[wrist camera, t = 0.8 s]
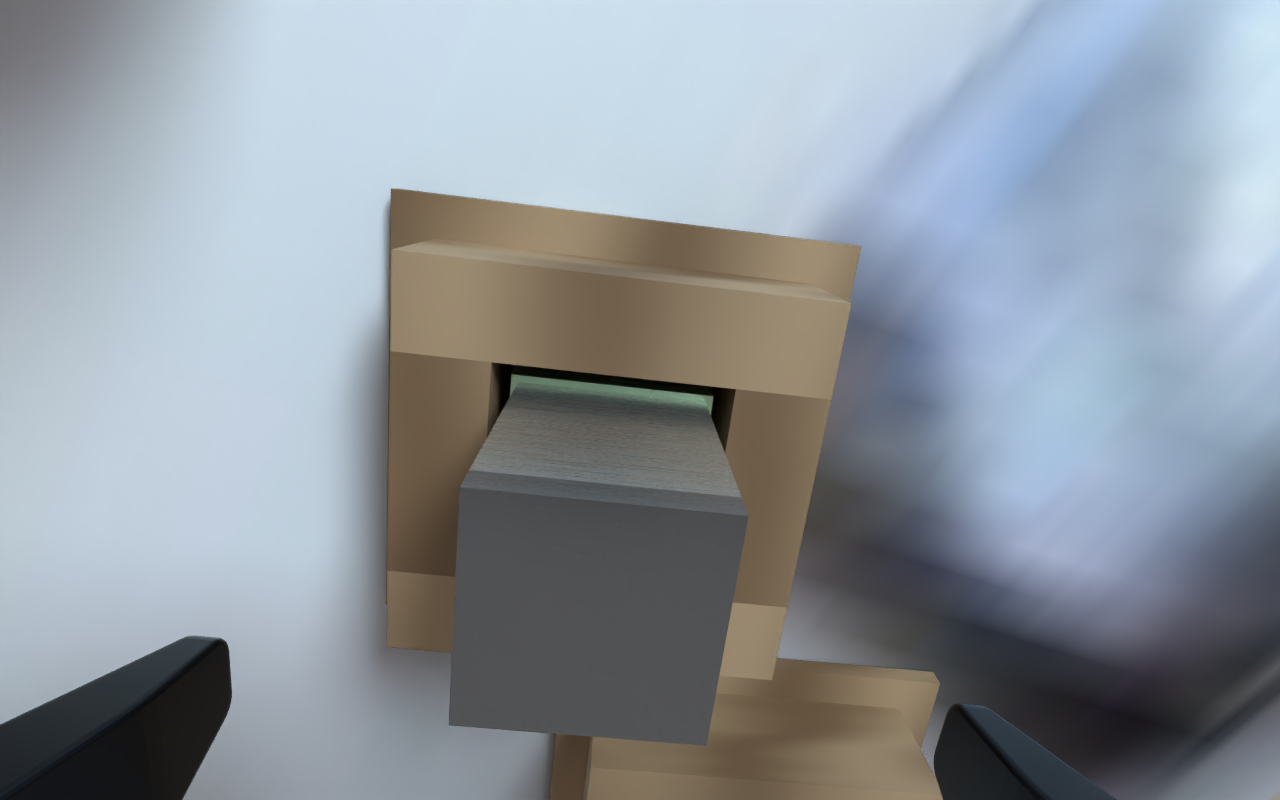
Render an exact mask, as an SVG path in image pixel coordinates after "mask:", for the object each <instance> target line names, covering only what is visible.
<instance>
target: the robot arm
mask: <svg viewBox="0 0 1280 800" xmlns="http://www.w3.org/2000/svg"><path fill="white" fill-rule="evenodd" d="M231 698H232V687H231V672H230V658H229V648H228V645H227V643H226V641H225V640H223V639H221V638H215V637H204V636H188V637H185V638H182V639H180V640H178V641H176V642H174V643H172V644H170V645H168V646H165V647H163V648H161V649H159V650H157V651H155V652H153V653H151V654H149V655H146V656H144V657H142V658H140V659H138V660H136V661H134V662H132V663H130V664H127V665H125V666H123V667H121V668H119V669H117V670H115V671H113V672H110V673H108V674H106V675H104V676H102V677H100V678H98V679H96V680H94V681H91V682H89V683H87V684H85V685H83V686H81V687H79V688H77V689H75V690H72V691H70V692H68V693H66V694H64V695H62V696H60V697H58V698H56V699H53V700H51V701H49V702H47V703H45V704H43V705H41V706H39V707H37V708H34V709H32V710H30V711H28V712H26V713H24V714H22V715H20V716H17V717H15V718H13V719H11V720H9V721H7V722H5V723H3V724H1V725H0V800H183V798H184V796H185V794H186V792H187V790H188V788H189V786H190V784H191V783H192V781H193V779H194V777H195V775H196V773H197V771H198V769H199V767H200V765H201V763H202V762H203V760H204V758H205V756H206V754H207V752H208V750H209V748H210V746H211V744H212V743H213V741H214V739H215V737H216V735H217V733H218V731H219V729H220V727H221V725H222V723H223V722H224V720H225V718H226V716H227V713H228V711H229V708H230V704H231ZM934 770H935V775H936V779H937V782H938V785H939V788H940V792H941V795H942V798H943V800H1116V799H1115V798H1113V797H1112V796H1111V795H1109V794H1108V793H1106V792H1105V791H1104V790H1102V789H1101V788H1100V787H1098V786H1097V785H1095V784H1094V783H1093V782H1091V781H1090V780H1088V779H1087V778H1086V777H1084V776H1083V775H1081V774H1080V773H1079V772H1077V771H1076V770H1074V769H1073V768H1072V767H1070V766H1069V765H1067V764H1066V763H1065V762H1063V761H1062V760H1060V759H1059V758H1058V757H1056V756H1055V755H1053V754H1052V753H1051V752H1049V751H1048V750H1046V749H1045V748H1044V747H1042V746H1041V745H1039V744H1038V743H1037V742H1035V741H1034V740H1032V739H1031V738H1030V737H1028V736H1027V735H1025V734H1024V733H1023V732H1021V731H1020V730H1018V729H1017V728H1016V727H1014V726H1013V725H1011V724H1010V723H1009V722H1007V721H1006V720H1005V719H1003V718H1002V717H1000V716H999V715H998V714H996V713H995V712H993V711H992V710H991V709H989V708H987V707H985V706H980V705H970V704H954V705H952V706H951V707H950V708H949V709H948V712H947V714H946V718H945V721H944V724H943V727H942V731H941V734H940V737H939V740H938V744H937V747H936V750H935V754H934Z"/></svg>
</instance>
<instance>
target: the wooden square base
mask: <svg viewBox="0 0 1280 800" xmlns="http://www.w3.org/2000/svg"><path fill="white" fill-rule="evenodd" d="M939 686H940V683H939V681H938V679H937V678H936V676H935V675H934V673H933V672H927V671H916V670H904V669H893V668H882V667H870V666H859V665H848V664H836V663H825V662H814V661H802V660H791V659H780V658H776V663H775V668H774V673H773V677H772V680H763V679H751V678H740V677H728V676H719V680H718V685H717V691H716V696H715V702H714V707H713V713H712V718H711V723H710V729H709V734H708V740H707V745H706V746H702V745H689V744H677V743H665V742H652V741H640V740H627V739H615V738H602V737H590V736H578V735H565V734H556V738H555V748H554V758H553V767H552V777H551V787H550V797H549V800H943V798H942V795H941V792H940V788H939V785H938V782H937V780H936V778H935V776H934V774H933V772H932V770H931V768H930V766H929V764H928V762H927V761H926V759H925V757H924V755H923V753H922V751H921V746H922V743H923V739H924V736H925V733H926V729H927V726H928V723H929V719H930V716H931V713H932V709H933V706H934V703H935V699H936V696H937V693H938V689H939Z"/></svg>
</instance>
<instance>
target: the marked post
mask: <svg viewBox="0 0 1280 800" xmlns="http://www.w3.org/2000/svg"><path fill="white" fill-rule="evenodd" d="M713 397H714V396H713V394H712V392H711V389H710V387H709V386H703V385H694V384H685V383H676V382H667V381H658V380H648V379H639V378H630V377H621V376H612V375H603V374H594V373H585V372H576V371H567V370H557V369H548V368H539V367H530V366H521V365H517V366H516V368H515V369H514V371H513V373H512V374H511V389H510V398H509V399H508V401H507V403H506V405H505V407H504V408H503V410H502V412H501V414H500V415H499V417H498V419H497V421H496V423H495V424H494V426H493V428H492V430H491V432H490V433H489V435H488V437H487V439H486V441H485V442H484V444H483V446H482V448H481V450H480V451H479V453H478V455H477V457H476V459H475V460H474V462H473V464H472V466H471V468H470V469H469V471H468V473H467V475H466V477H465V478H464V480H463V482H462V484H461V486H460V489H459V511H458V533H457V555H456V577H455V599H454V621H453V643H452V665H451V687H450V709H449V725H453V726H466V727H478V728H491V729H503V730H515V731H528V732H540V733H553V734H565V735H578V736H590V737H602V738H615V739H627V740H640V741H652V742H665V743H677V744H689V745H702V746H706V745H707V740H708V734H709V729H710V723H711V718H712V713H713V707H714V702H715V696H716V691H717V685H718V680H719V675H720V669H721V664H722V658H723V653H724V647H725V642H726V636H727V631H728V626H729V620H730V615H731V609H732V604H733V598H734V593H735V588H736V582H737V577H738V571H739V566H740V560H741V555H742V550H743V544H744V539H745V533H746V528H747V522H748V517H749V516H748V513H747V510H746V508H745V505H744V502H743V500H742V497H741V494H740V492H739V489H738V487H737V484H736V481H735V479H734V476H733V473H732V471H731V468H730V465H729V463H728V460H727V457H726V455H725V452H724V450H723V447H722V444H721V442H720V439H719V436H718V434H717V431H716V428H715V426H714V423H713V421H712V418H711V410H712V403H713Z"/></svg>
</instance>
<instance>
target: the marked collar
mask: <svg viewBox="0 0 1280 800" xmlns="http://www.w3.org/2000/svg"><path fill="white" fill-rule="evenodd" d="M860 250H861V246H857V245H851V244H843V243H835V242H827V241H818V240H810V239H802V238H794V237H786V236H778V235H770V234H762V233H753V232H745V231H737V230H729V229H721V228H713V227H705V226H697V225H688V224H680V223H672V222H664V221H656V220H648V219H640V218H632V217H623V216H615V215H607V214H599V213H591V212H583V211H575V210H566V209H558V208H550V207H542V206H534V205H526V204H518V203H510V202H501V201H493V200H485V199H477V198H469V197H461V196H453V195H445V194H436V193H428V192H420V191H412V190H404V189H391V229H390V315H389V401H388V487H387V573H386V604H387V647H392V648H404V649H415V650H427V651H438V652H450V653H452V643H453V621H454V599H455V577H456V555H457V533H458V511H459V489H460V486H461V484H462V482H463V480H464V478H465V477H466V475H467V473H468V471H469V469H470V468H471V466H472V464H473V462H474V460H475V459H476V457H477V455H478V453H479V451H480V450H481V448H482V446H483V444H484V442H485V441H486V439H487V437H488V435H489V433H490V432H491V430H492V428H493V426H494V424H495V423H496V421H497V419H498V417H499V415H500V414H501V412H502V410H503V408H504V407H505V405H506V403H507V401H508V399H509V398H510V389H511V374H512V373H513V371H514V369H515V368H516V366H517V365H521V366H530V367H539V368H548V369H557V370H567V371H576V372H585V373H594V374H603V375H612V376H621V377H630V378H639V379H648V380H658V381H667V382H676V383H685V384H694V385H703V386H709V387H710V389H711V392H712V394H713V396H714V397H713V403H712V410H711V418H712V421H713V423H714V426H715V428H716V431H717V434H718V436H719V439H720V442H721V444H722V447H723V450H724V452H725V455H726V457H727V460H728V463H729V465H730V468H731V471H732V473H733V476H734V479H735V481H736V484H737V487H738V489H739V492H740V494H741V497H742V500H743V502H744V505H745V508H746V510H747V513H748V516H749V517H748V522H747V528H746V533H745V539H744V544H743V550H742V555H741V560H740V566H739V571H738V577H737V582H736V588H735V593H734V598H733V604H732V609H731V615H730V620H729V626H728V631H727V636H726V642H725V647H724V653H723V658H722V664H721V669H720V675H719V676H728V677H740V678H751V679H763V680H772V677H773V673H774V668H775V663H776V658H777V654H778V649H779V644H780V640H781V635H782V630H783V625H784V621H785V616H786V611H787V606H788V602H789V597H790V592H791V588H792V583H793V578H794V573H795V569H796V564H797V559H798V555H799V550H800V545H801V540H802V536H803V531H804V526H805V521H806V517H807V512H808V507H809V503H810V498H811V493H812V488H813V484H814V479H815V474H816V469H817V465H818V460H819V455H820V451H821V446H822V441H823V436H824V432H825V427H826V422H827V417H828V413H829V408H830V403H831V399H832V394H833V389H834V384H835V380H836V375H837V370H838V365H839V361H840V356H841V351H842V347H843V342H844V337H845V332H846V328H847V323H848V318H849V313H850V309H851V303H849V302H850V298H851V293H852V288H853V283H854V279H855V274H856V269H857V264H858V260H859V255H860Z"/></svg>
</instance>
